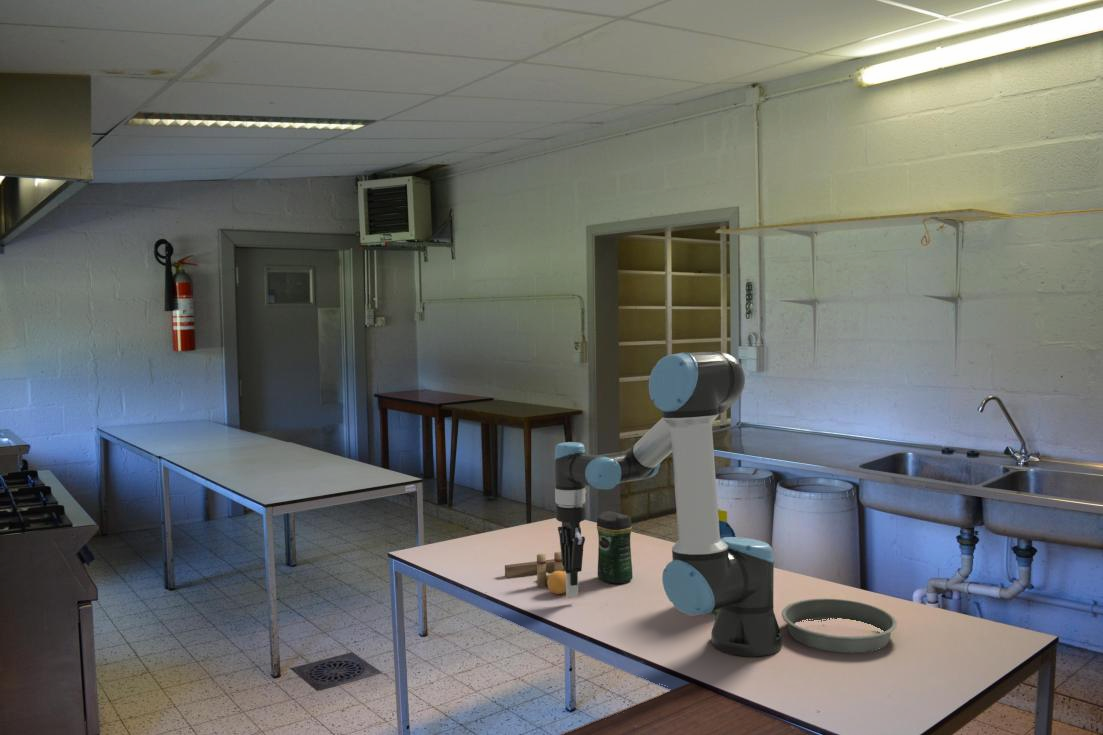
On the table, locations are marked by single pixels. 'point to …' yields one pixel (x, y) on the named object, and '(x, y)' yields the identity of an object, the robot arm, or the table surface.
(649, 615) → the table surface
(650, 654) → the table surface
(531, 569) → the back rail
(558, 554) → the pin
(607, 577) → the coffee jar
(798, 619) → the cake pan
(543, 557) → the pin
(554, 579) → the ball
